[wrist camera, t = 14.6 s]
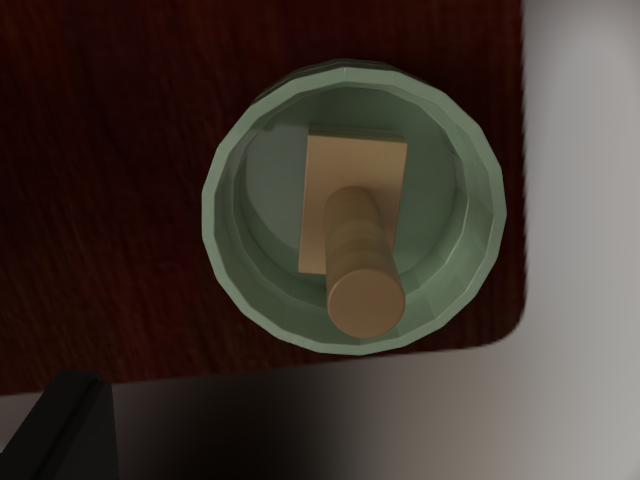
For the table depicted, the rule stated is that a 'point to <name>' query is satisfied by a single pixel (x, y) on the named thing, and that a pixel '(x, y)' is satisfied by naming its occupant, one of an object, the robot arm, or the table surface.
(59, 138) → the table surface
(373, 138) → the wooden stamp
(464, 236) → the bowl
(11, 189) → the table surface
